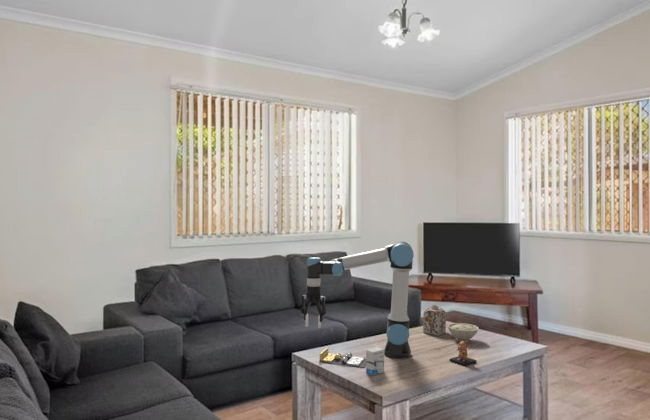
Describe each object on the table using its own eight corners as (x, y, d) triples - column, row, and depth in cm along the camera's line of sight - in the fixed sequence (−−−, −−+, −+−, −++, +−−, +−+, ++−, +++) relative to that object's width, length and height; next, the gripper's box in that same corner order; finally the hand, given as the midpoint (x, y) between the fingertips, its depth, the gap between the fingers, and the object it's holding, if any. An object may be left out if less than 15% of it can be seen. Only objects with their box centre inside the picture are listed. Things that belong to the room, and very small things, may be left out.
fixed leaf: (364, 358, 266) (364, 353, 266) (358, 366, 253) (358, 360, 253) (347, 356, 269) (347, 351, 269) (340, 364, 257) (340, 358, 257)
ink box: (372, 375, 241) (372, 352, 241) (365, 373, 245) (365, 349, 245) (384, 372, 246) (384, 349, 246) (377, 369, 250) (377, 346, 250)
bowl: (442, 342, 301) (443, 326, 300) (452, 335, 317) (452, 319, 317) (474, 347, 290) (474, 330, 290) (482, 339, 307) (482, 324, 307)
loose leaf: (343, 356, 269) (343, 349, 269) (336, 363, 258) (336, 355, 258) (326, 354, 272) (327, 347, 272) (319, 361, 261) (319, 353, 261)
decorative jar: (429, 329, 330) (430, 303, 330) (446, 332, 324) (446, 305, 323) (422, 333, 321) (422, 306, 320) (439, 336, 314) (439, 308, 314)
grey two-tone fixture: (370, 359, 266) (370, 359, 266) (364, 367, 252) (364, 367, 252) (327, 354, 274) (327, 353, 274) (319, 362, 261) (319, 361, 261)
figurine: (449, 361, 264) (449, 339, 264) (461, 358, 270) (461, 336, 270) (464, 366, 256) (465, 344, 256) (476, 363, 262) (476, 341, 262)
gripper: (332, 285, 268) (332, 326, 269) (299, 283, 275) (299, 323, 275) (328, 287, 261) (327, 330, 262) (294, 285, 268) (294, 326, 268)
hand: (313, 326), depth 269 cm, fingers open, 7 cm apart
